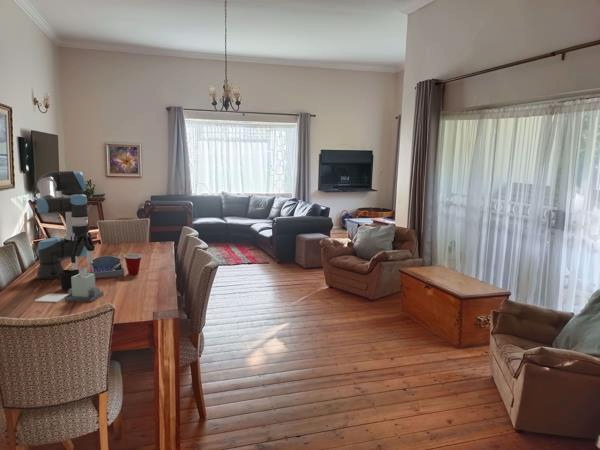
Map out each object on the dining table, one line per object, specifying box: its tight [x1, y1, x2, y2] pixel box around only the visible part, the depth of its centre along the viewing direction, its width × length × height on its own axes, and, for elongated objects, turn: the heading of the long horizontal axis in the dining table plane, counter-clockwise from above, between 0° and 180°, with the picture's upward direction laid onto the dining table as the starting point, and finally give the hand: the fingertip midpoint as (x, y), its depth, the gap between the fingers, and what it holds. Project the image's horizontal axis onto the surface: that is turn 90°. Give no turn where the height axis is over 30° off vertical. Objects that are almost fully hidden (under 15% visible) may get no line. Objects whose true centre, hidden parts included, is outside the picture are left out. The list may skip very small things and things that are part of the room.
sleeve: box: [71, 272, 96, 297], centre depth 227 cm, size 8×8×10 cm
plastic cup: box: [123, 253, 143, 276], centre depth 276 cm, size 11×11×12 cm
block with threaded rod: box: [63, 266, 104, 303], centre depth 227 cm, size 14×12×16 cm
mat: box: [34, 293, 68, 304], centre depth 226 cm, size 12×12×1 cm
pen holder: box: [59, 268, 80, 291], centre depth 244 cm, size 9×9×10 cm
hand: (82, 266), depth 225 cm, fingers open, 13 cm apart
